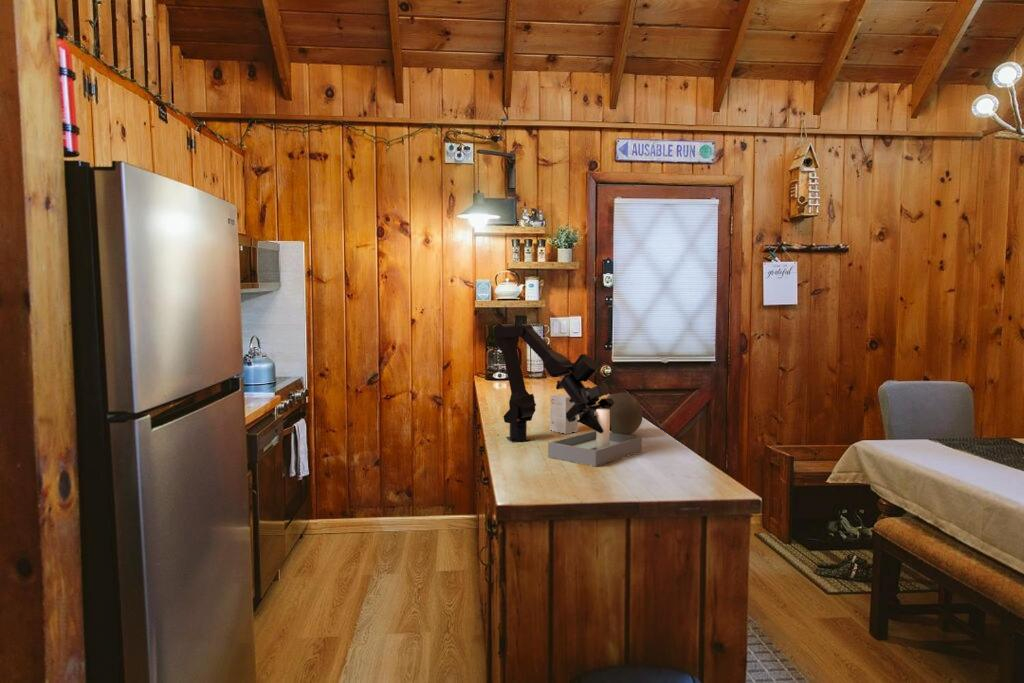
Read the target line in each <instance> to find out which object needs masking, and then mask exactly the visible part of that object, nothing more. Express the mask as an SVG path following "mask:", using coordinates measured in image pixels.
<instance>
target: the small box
mask: <svg viewBox="0 0 1024 683" xmlns="http://www.w3.org/2000/svg"><path fill="white" fill-rule="evenodd" d="M570 399H571V398H570V397H569V395H568V394H567V393H566V394H565V393H559V394H551V395H550V397H549V402H550V405H549V406H550V408H549V410H550V411H549V418H550V420H549V423H550V424H549V431H550V430H552V431H551V432H553V431H556V432H555V433H558V432H560V433H559V434H562V433H564V434H563V435H567V434H566V433H570V434H573V433H572V432H575V433H577V432H578V431H579V430H578V429H579V426H578V425H579V422H577V421H578V420H579V415H576V416H575V418H576V419H575V421H573V422H569V421H568V420H567V418H566V413H567V411H568V410H569V409H570V408H571V407H572V406H573V405H574V404H575V403H574V402H573V403H570V401H569V400H570Z"/></svg>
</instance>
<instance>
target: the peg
mask: <svg viewBox="0 0 1024 683" xmlns="http://www.w3.org/2000/svg"><path fill="white" fill-rule="evenodd" d="M596 419H597V420H598V422H599V424H600V425H601V427H602V429H603V431H604V432H603V433H599V432H597V431H596V450H597V449H600V448H603V447H607V446H609V438H610V432H611V431H610V409H596Z"/></svg>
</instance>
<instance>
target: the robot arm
mask: <svg viewBox="0 0 1024 683" xmlns="http://www.w3.org/2000/svg"><path fill="white" fill-rule="evenodd" d="M492 334H493V338H494V341H495V344H496V346H497V347H498V348H499V350H500V351H501V352H502V355H503V359H504V366H505V369H506V373H507V378H508V384H509V388H510V393H511V394H510V397H509V400H508V405H509V409H508V410H507V411H506V413H505V414H503V417H502V418H503V420H504V423H507V424H509V436H506V439H507V438H508V439H509V440H508V439H507V440H508V441H510V442H511V441H517V442H529V441H528V440H531V438H529V437H527V422H530V421H532V418H533V416H534V414H535V412H536V406H537V404H536V402H535V395H534V393H529V392H528V391H527V389H526V384H525V380H524V379H525V378H524V375H523V371H522V366H521V362H520V357H519V352H518V347H519V346H518V345H519V342H520V341H519V340H520V338H521V339H522V340H523V341H524V342H525V343H526V344H527V345H528V347H529V348H530V349H531V350H533V352H534V353H535V354H536V355H537V356H538V357H539V359H541V361H542V363H543V368H544V369H545V370H546V372H547V374H548V375H549V376H550V377H551V378H560V377H561V378H562V379H560V380H557V381H556V385H555V388H556V390H564V391H565V393H566V395H569V397H570V398H571V399H570V400H569V401H570V403H573V402H574V403H575V404H574V405H573V406H572V407H571V408H570V409H569V410H568V411H567V413H566V418H567V420H568V421H569V422H573V421H575V419H576V418H575V416H576V415H578V421H577V422H578V423H580V424H582V425H584V426H587V427H588V428H590V429H592V430H593V431H595V430H596V431H597V432H599V433H603V432H604V431H603V429H602V427H601V425H600V424H599V422H598V420H597V419H596V409H609V408H610V407H611V406H612V405H613V404H614V401H613V400H612V399H611V398H606V397H604V396H607V395H609V391H610V386H608V384H606V383H605V382H600V383H598V384H597V385H595V386H593V387H587V386H585V384H584V382H585V383H586V382H588V381H589V380H590V378H591V377H592V376H593V375H594V374H595V373H596V372H597V371H598V370H599V364H598V361H597V360H594V359H593V358H592V357H590V356H588V355H587V354H586V353H581V354H580V355H579V356H578V358H577V359H576V360H575V361H574V362H571V360H570V359H569V358H567V357H566V356H565V355H563V354H561V353H559V352H557V351H555V350H554V349H553V348H552V347H551V346H550V345H549V344H548V343H547V342H546V341H545V340H544V339H543V337H542V336H541V335H539V334H538V332H537V331H536V330H535V329H534V327H533V326H532V325H531V324H529V323H528V324H527V323H525V324H523V323H522V324H519V325H515V324H512V323H511V324H510V323H507V324H506V323H505V324H497V325H496V326H495V327H494V329H493V331H492ZM601 397H603V398H601ZM600 398H601V399H600ZM611 430H612V428H611V425H610V432H611Z"/></svg>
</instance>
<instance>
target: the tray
mask: <svg viewBox="0 0 1024 683" xmlns="http://www.w3.org/2000/svg"><path fill="white" fill-rule="evenodd" d="M642 439H643V437H641V436H635V435H631V434H630V435H624V434H618V433H613V432H611V431H610V438H609V446H607V447H603V448H600V449H597V450H596V430H591V431H587V432H584V433H581V434H575V435H572V436H568V437H565V438H560V439H557V440H553V441H549V442H547V443H548V444H547V447H548V448H547V449H548V450H547V454H548V456H547V457H548V458H549V457H550V459H554V458H556V459H555V460H559V459H561V460H560V461H564V460H567V461H566V462H569V461H572V462H571V463H574V462H577V463H576V464H578V463H583V464H587V465H586V466H588V465H592V466H591V467H593V466H597V467H599V466H598V465H600V466H602V465H601V464H603V465H605V464H604V463H606V464H608V463H607V462H609V463H611V462H610V461H612V462H615V461H617V459H618V460H621V459H624V458H627V457H629V456H628V455H630V456H632V455H631V454H633V455H635V454H634V453H636V454H638V453H637V452H639V453H641V452H640V451H642V449H643V448H642V446H643V445H642V444H643V440H642ZM642 452H643V451H642ZM626 456H627V457H626ZM623 457H624V458H623ZM620 458H621V459H620ZM614 460H615V461H614ZM583 464H582V465H583Z"/></svg>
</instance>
